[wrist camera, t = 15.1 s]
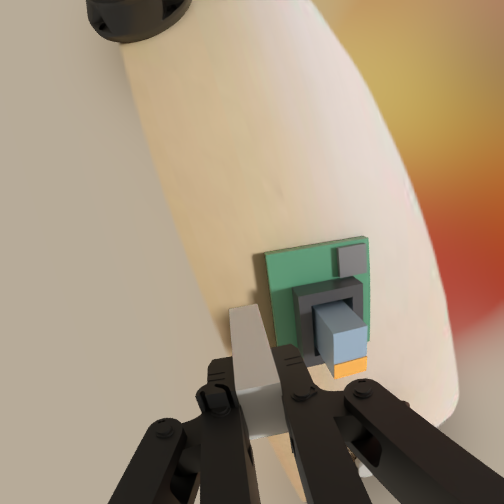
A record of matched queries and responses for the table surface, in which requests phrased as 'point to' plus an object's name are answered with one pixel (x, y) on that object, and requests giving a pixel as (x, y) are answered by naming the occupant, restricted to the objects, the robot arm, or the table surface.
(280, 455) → the table surface
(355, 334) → the plug
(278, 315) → the circuit board
